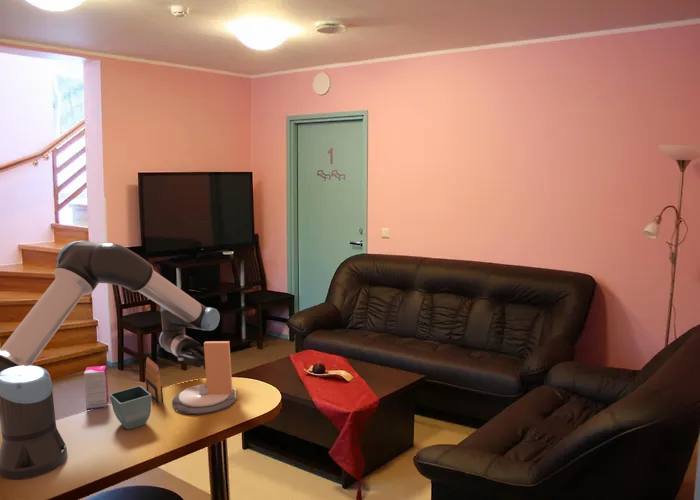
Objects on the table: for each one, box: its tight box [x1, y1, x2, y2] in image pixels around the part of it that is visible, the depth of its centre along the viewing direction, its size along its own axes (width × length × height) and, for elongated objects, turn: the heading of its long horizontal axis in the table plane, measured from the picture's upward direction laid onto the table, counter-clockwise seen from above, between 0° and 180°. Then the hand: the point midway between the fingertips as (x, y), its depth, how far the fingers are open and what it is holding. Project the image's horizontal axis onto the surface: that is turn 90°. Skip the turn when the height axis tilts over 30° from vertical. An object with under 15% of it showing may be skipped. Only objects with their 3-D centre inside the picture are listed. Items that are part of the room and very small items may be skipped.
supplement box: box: [83, 365, 110, 411], centre depth 179 cm, size 6×6×12 cm
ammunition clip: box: [145, 356, 164, 405], centre depth 184 cm, size 11×2×12 cm, turn 35°
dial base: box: [171, 387, 238, 416], centre depth 181 cm, size 19×19×4 cm
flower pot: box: [109, 385, 152, 430], centre depth 166 cm, size 9×9×9 cm
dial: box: [179, 340, 233, 407], centre depth 179 cm, size 16×15×17 cm
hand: (219, 367), depth 182 cm, fingers closed
